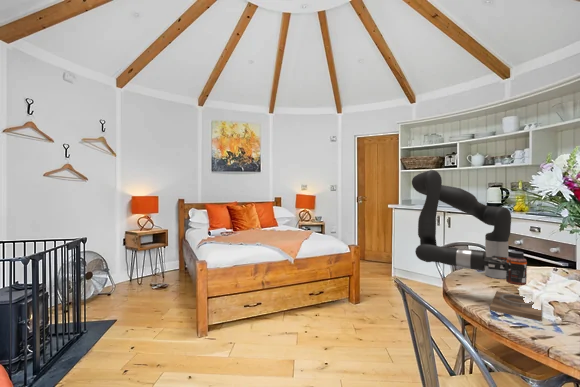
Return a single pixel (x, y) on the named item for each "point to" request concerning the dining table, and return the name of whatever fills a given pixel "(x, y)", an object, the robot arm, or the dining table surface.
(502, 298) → the walnut board
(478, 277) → the dining table surface
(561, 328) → the dining table surface
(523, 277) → the supplement bottle
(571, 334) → the dining table surface
